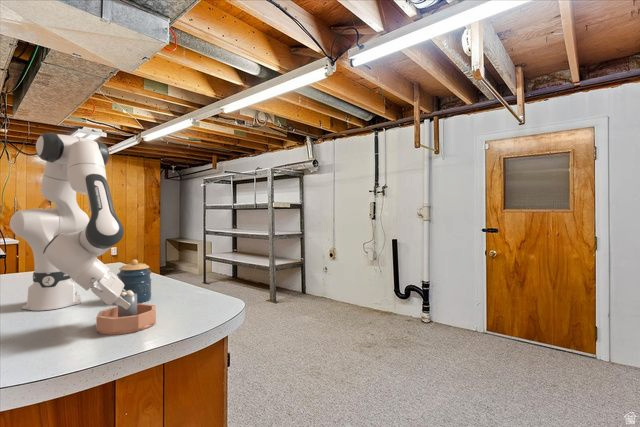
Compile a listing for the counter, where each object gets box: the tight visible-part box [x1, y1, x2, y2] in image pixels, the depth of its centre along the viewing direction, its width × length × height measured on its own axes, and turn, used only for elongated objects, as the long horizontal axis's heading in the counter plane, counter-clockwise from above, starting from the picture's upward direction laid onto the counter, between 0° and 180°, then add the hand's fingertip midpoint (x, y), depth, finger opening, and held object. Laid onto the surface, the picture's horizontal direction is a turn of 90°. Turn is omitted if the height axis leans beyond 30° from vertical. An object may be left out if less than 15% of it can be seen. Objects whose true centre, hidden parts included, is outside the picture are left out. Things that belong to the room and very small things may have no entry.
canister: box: [116, 259, 153, 304], centre depth 141 cm, size 13×13×18 cm
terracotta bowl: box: [95, 303, 157, 336], centre depth 109 cm, size 16×16×5 cm
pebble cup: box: [117, 290, 138, 317], centre depth 109 cm, size 6×6×10 cm
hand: (129, 303), depth 109 cm, fingers open, 8 cm apart
